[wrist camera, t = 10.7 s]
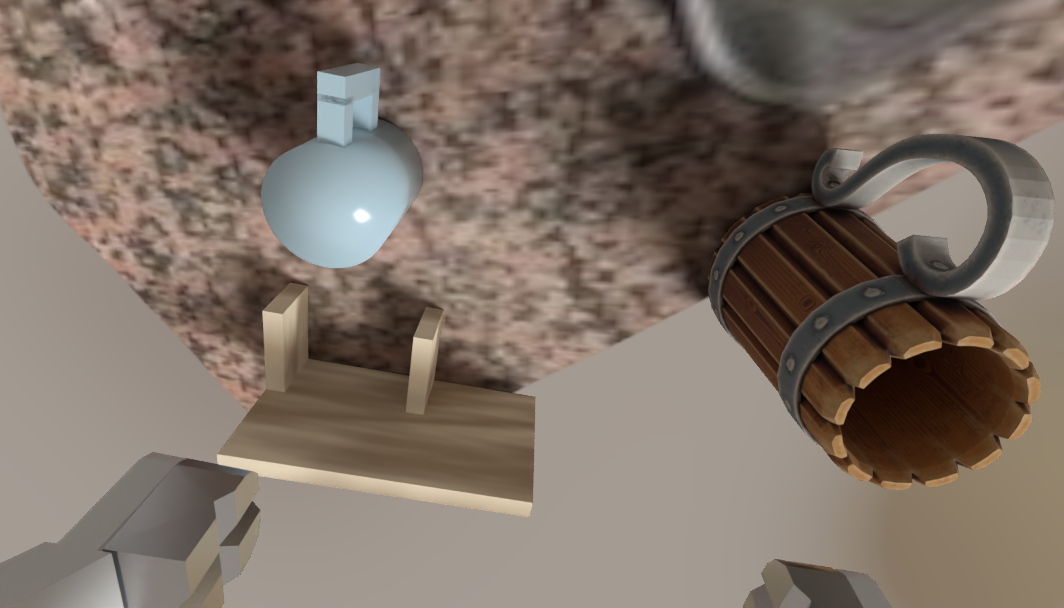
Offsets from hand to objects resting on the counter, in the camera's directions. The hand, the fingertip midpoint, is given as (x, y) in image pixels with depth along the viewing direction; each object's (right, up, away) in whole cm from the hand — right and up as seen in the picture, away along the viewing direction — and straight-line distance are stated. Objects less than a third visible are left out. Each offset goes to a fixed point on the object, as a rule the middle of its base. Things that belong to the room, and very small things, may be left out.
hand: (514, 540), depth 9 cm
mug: (+17, +8, +25) cm, 32 cm away
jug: (-9, +13, +23) cm, 28 cm away
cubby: (-8, +1, +30) cm, 31 cm away
